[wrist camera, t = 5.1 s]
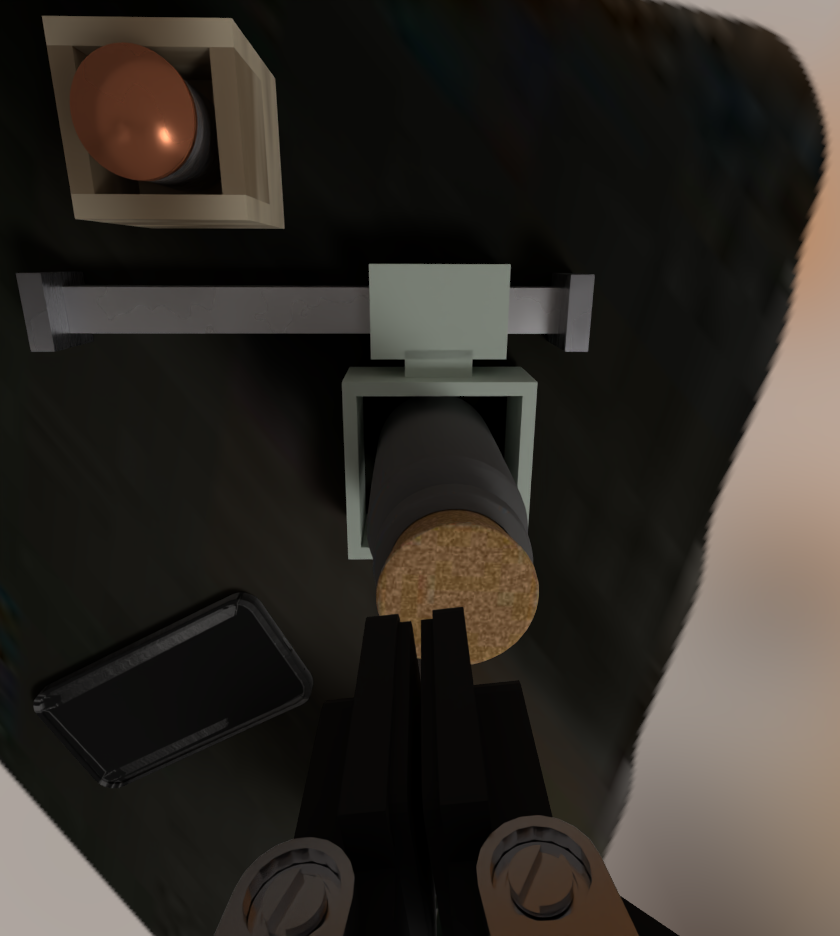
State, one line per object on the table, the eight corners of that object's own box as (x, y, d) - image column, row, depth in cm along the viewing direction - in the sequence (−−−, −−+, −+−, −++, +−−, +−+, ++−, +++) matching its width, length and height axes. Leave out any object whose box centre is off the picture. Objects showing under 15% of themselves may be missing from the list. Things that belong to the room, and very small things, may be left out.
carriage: (355, 524, 33) (348, 559, 29) (346, 263, 29) (337, 264, 25) (512, 523, 33) (526, 557, 29) (526, 263, 29) (545, 264, 25)
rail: (73, 341, 30) (31, 351, 26) (60, 271, 29) (15, 273, 25) (567, 341, 30) (587, 351, 27) (573, 272, 29) (594, 274, 26)
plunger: (143, 194, 25) (81, 179, 20) (129, 85, 23) (59, 41, 19) (239, 195, 25) (199, 180, 20) (230, 86, 23) (185, 43, 19)
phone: (24, 701, 35) (246, 592, 34) (36, 688, 37) (250, 582, 35) (108, 794, 38) (319, 698, 36) (116, 780, 39) (322, 685, 37)
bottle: (464, 514, 33) (508, 706, 19) (361, 477, 32) (328, 648, 18) (509, 415, 31) (595, 545, 17) (402, 373, 31) (399, 474, 16)
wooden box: (152, 228, 28) (75, 218, 22) (133, 77, 26) (42, 15, 20) (284, 228, 28) (247, 219, 22) (275, 78, 26) (231, 18, 20)
